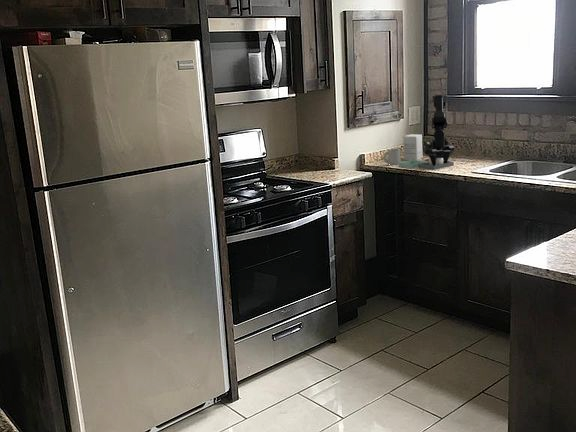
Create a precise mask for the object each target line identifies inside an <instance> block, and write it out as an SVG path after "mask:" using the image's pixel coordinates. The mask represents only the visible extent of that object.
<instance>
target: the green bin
mask: <svg viewBox="0 0 576 432" xmlns="http://www.w3.org/2000/svg"><path fill="white" fill-rule="evenodd" d="M426 162H427V161H426V160H420V159H419V160H403V161H400V162H399V165H398V167H399V168H405V169H418V168H419V164H422V163H426Z"/></svg>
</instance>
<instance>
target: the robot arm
mask: <svg viewBox="0 0 576 432" xmlns="http://www.w3.org/2000/svg"><path fill="white" fill-rule="evenodd" d="M431 99H432V103H433V107H434V108H435V112H434V113H433V117H431V118H432V119H431V120H432V121H431V125H432V126H431V128H432V129H433V139H432V141H431V142H429V141H427V142H424V148H425V149H424V155H426V156H427V157H428V158H429V157H430V159H431V162H432V164H433V166H435V164H436V159H437V158H443V161H444V164H445V163H447V161H448V160H449V159H450V156H451V154H452V153H453V152H454V151H455V146H454V145H449V141H448V140H447V136H446V135H445V129H447V127H448V119H447V117H446V113H445V112H444V109H445V107H446V105H447V104H446V103H447V102H448V95H446V94H444V93H443V94H441V93H439V94H434V95H432V98H431Z"/></svg>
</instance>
